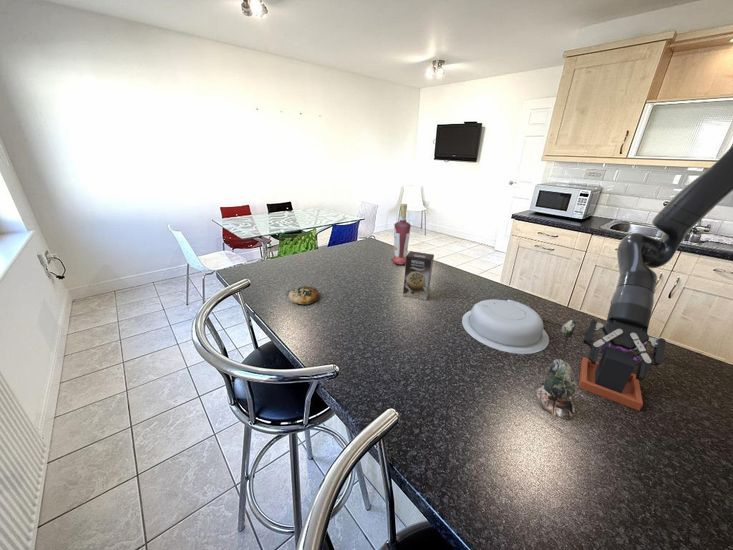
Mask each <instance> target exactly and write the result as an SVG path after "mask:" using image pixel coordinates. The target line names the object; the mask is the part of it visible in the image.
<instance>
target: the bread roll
mask: <svg viewBox="0 0 733 550" xmlns="http://www.w3.org/2000/svg"><path fill="white" fill-rule="evenodd" d="M319 298H320V292H319V290H318V289H317V288H316V287H314V286H308V285H307V286H306V285H304V286H303V285H302V286H298V287H296V288H294V289H291V290H290V292H289V293H288V299H289V301H290V302H291V303H292V304H297V305H304V306H305V305H307V306H308V305H311V304H313V303H314V302H317V301H318V299H319Z"/></svg>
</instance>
